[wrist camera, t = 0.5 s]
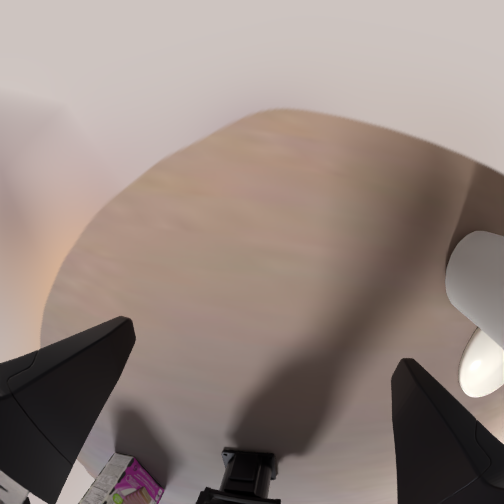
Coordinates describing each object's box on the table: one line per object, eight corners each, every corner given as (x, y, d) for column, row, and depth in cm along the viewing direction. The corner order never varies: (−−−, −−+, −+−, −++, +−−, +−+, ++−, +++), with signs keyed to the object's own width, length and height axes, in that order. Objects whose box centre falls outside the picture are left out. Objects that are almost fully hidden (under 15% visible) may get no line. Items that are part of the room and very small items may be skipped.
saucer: (511, 379, 20) (515, 382, 19) (445, 402, 22) (448, 407, 21) (537, 294, 18) (542, 297, 17) (473, 309, 20) (478, 313, 19)
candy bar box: (167, 490, 33) (135, 554, 17) (145, 486, 34) (112, 544, 18) (135, 455, 31) (89, 525, 16) (113, 451, 32) (68, 513, 17)
